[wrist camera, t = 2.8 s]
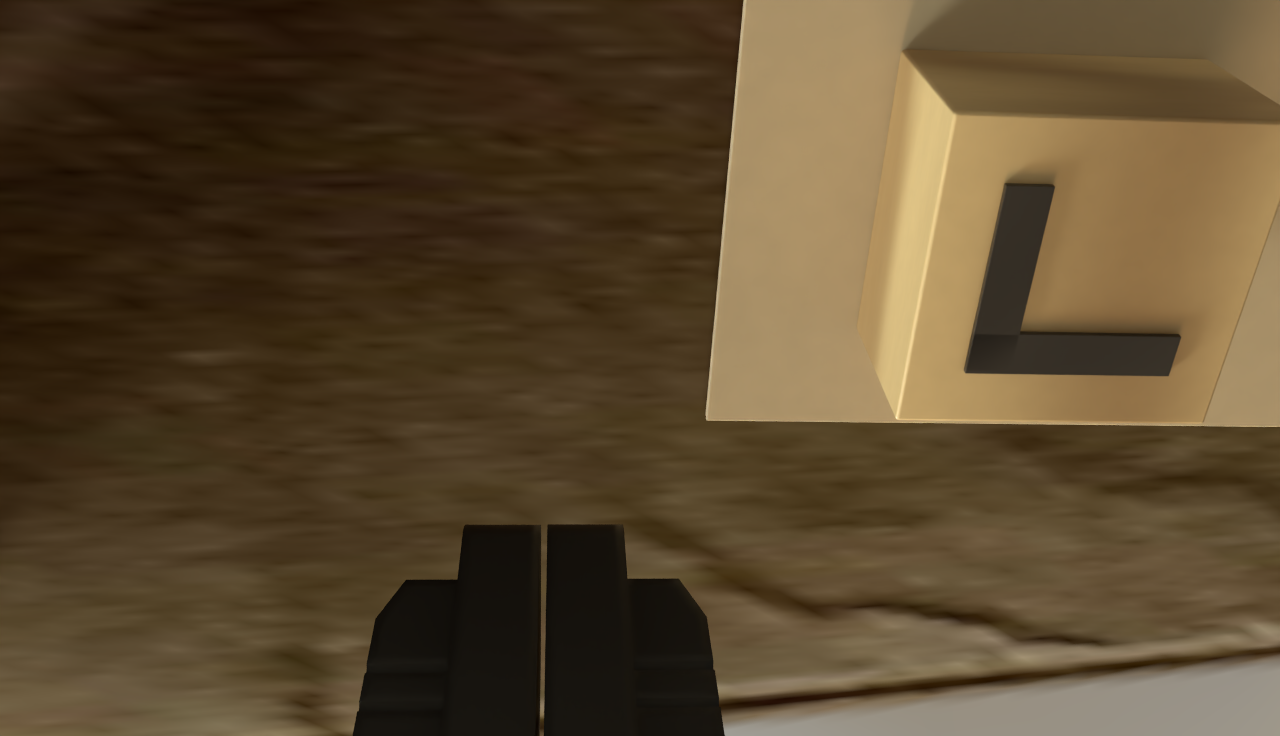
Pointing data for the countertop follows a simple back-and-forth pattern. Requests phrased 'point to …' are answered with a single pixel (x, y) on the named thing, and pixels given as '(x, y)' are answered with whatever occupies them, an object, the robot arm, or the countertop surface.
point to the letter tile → (1065, 235)
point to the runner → (851, 171)
